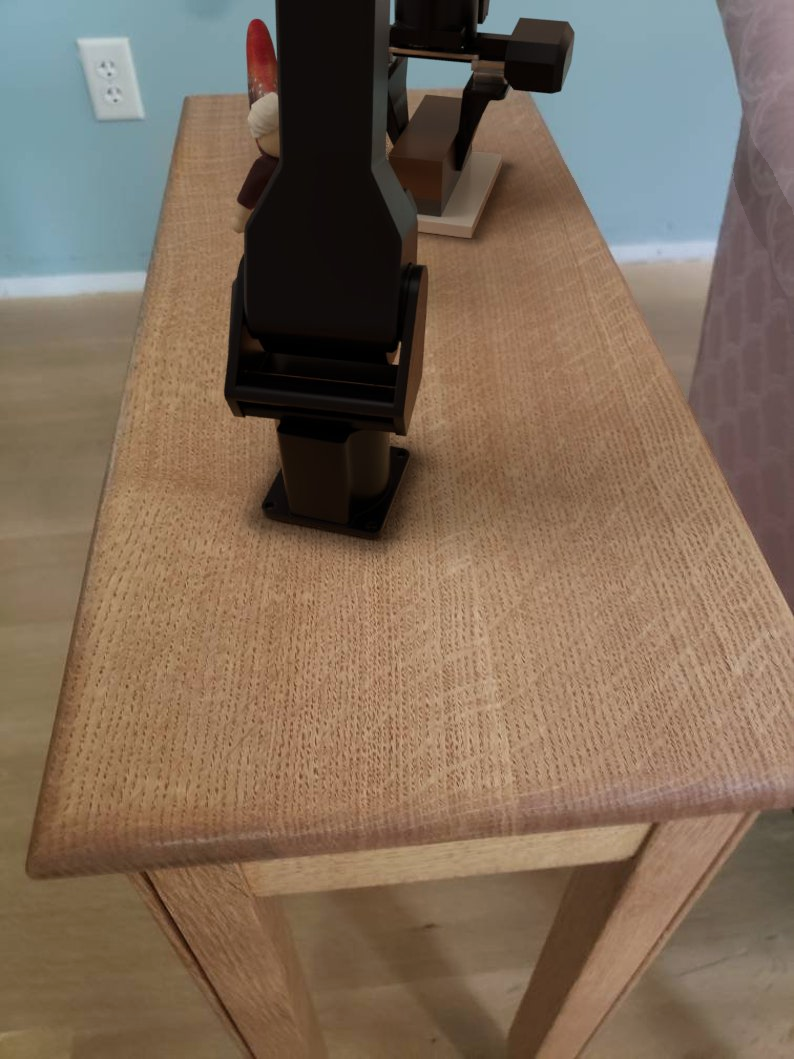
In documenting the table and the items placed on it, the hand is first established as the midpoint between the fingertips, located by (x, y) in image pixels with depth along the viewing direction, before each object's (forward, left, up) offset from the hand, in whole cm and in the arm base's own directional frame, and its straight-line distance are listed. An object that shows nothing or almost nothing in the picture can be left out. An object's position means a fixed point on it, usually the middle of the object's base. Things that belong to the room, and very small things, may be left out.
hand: (432, 165), depth 66 cm
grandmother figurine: (-15, +6, -2) cm, 17 cm away
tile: (0, 0, -2) cm, 2 cm away
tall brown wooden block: (0, 0, -1) cm, 1 cm away
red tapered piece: (-2, +12, -2) cm, 13 cm away
